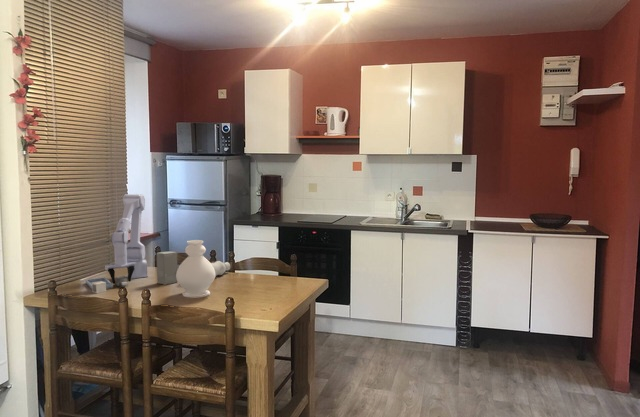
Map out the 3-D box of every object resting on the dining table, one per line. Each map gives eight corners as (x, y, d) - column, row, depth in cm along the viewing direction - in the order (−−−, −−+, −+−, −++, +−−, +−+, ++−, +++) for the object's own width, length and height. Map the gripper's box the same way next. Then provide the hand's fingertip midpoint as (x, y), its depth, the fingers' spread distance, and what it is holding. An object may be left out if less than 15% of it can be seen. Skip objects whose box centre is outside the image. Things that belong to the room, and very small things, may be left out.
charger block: (101, 290, 247) (101, 280, 247) (106, 291, 245) (105, 282, 244) (92, 292, 244) (91, 282, 243) (96, 293, 241) (96, 284, 241)
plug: (114, 283, 260) (114, 275, 260) (123, 282, 262) (122, 274, 262) (120, 288, 250) (120, 280, 250) (129, 287, 252) (129, 279, 252)
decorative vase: (197, 301, 228) (196, 245, 226) (168, 295, 237) (166, 242, 235) (223, 292, 244) (222, 240, 241) (195, 287, 253) (194, 237, 250)
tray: (85, 283, 260) (85, 279, 260) (105, 280, 265) (104, 277, 265) (92, 290, 246) (92, 286, 246) (113, 287, 251) (113, 284, 251)
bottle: (199, 279, 256) (236, 269, 282) (191, 263, 258) (229, 255, 284) (188, 287, 260) (225, 277, 286) (180, 271, 261) (218, 262, 288)
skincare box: (164, 285, 256) (163, 254, 255) (156, 283, 261) (155, 252, 259) (178, 282, 263) (178, 251, 262) (170, 280, 267) (169, 250, 266)
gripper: (107, 258, 248) (108, 285, 249) (137, 255, 256) (138, 281, 258) (103, 255, 254) (104, 282, 255) (133, 252, 262) (134, 279, 263)
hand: (121, 282), depth 257 cm, fingers open, 7 cm apart
